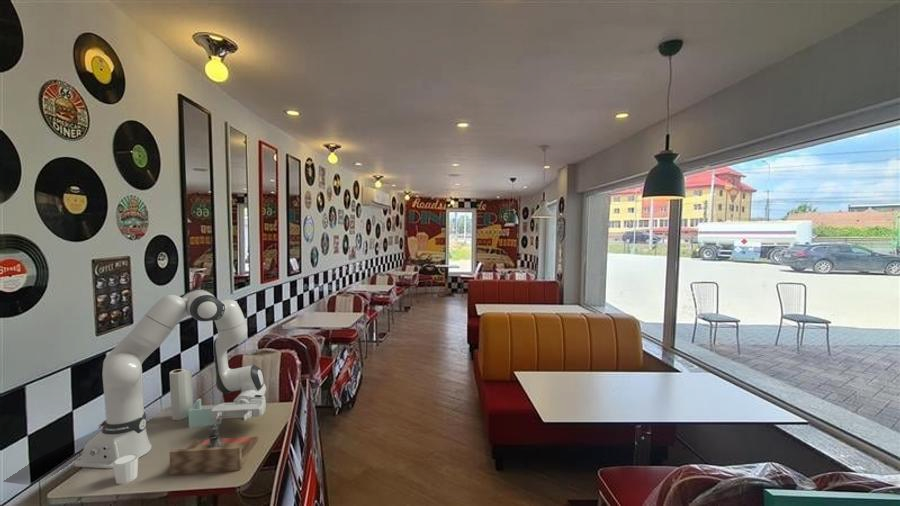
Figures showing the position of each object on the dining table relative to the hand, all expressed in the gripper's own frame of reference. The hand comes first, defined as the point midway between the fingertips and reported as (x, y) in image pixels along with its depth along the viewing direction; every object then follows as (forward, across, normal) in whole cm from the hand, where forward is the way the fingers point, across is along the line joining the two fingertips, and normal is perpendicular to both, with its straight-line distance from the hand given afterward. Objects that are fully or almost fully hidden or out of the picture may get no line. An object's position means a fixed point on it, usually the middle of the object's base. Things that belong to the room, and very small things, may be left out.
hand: (230, 419), depth 159 cm
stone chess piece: (+12, 0, +8) cm, 14 cm away
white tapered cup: (+21, -25, +9) cm, 34 cm away
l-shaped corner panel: (-20, -18, +9) cm, 28 cm away
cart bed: (+10, 0, +9) cm, 13 cm away
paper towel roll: (-23, -31, +9) cm, 40 cm away
